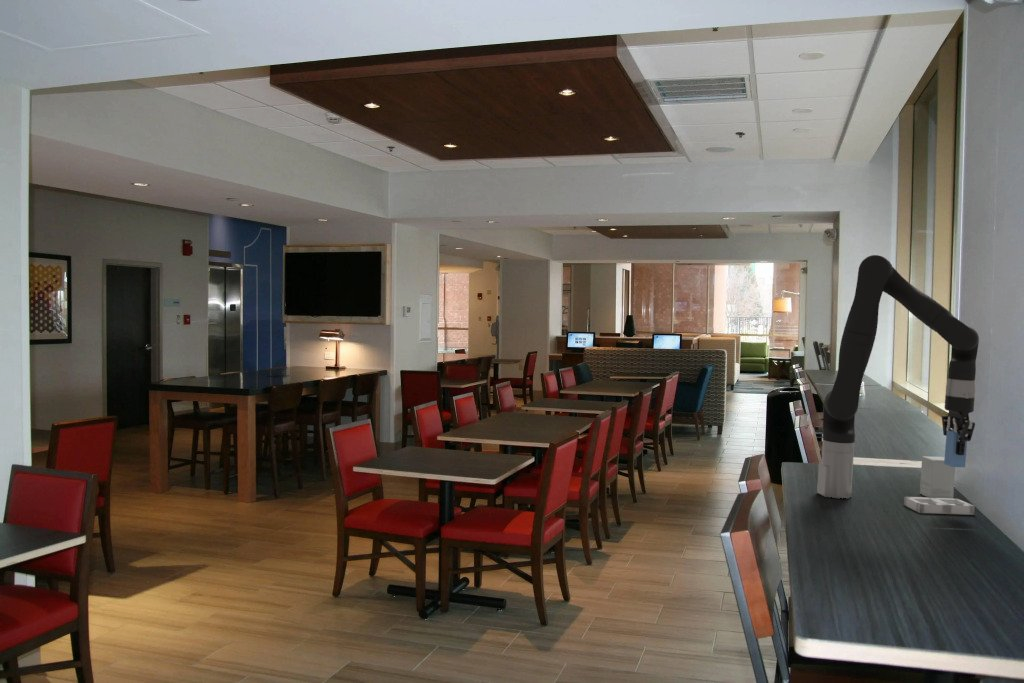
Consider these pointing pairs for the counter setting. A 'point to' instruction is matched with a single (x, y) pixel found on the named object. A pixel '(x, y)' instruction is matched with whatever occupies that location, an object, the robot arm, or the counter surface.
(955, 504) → the jack panel
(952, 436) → the plug
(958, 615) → the counter surface
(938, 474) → the supplement box
